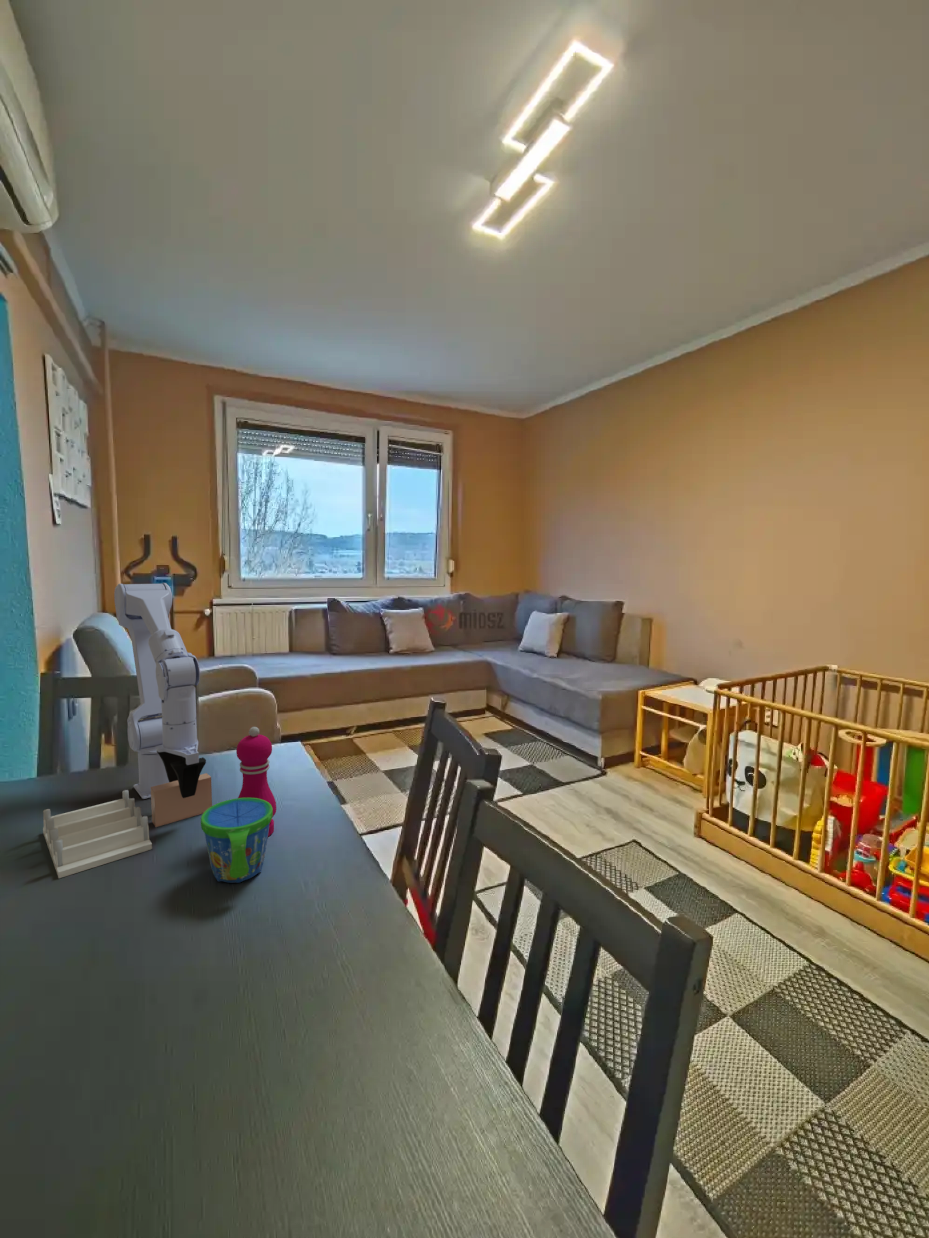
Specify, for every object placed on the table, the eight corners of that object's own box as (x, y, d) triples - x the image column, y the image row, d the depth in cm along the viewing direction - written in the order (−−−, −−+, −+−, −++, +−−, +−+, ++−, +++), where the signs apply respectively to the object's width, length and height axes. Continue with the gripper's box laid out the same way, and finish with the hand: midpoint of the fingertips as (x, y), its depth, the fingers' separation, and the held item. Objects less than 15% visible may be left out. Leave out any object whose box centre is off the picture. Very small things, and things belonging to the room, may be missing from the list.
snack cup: (271, 895, 82) (270, 831, 81) (194, 907, 79) (192, 841, 78) (275, 842, 97) (274, 787, 96) (210, 850, 94) (208, 793, 92)
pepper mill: (283, 824, 103) (282, 722, 101) (265, 844, 96) (264, 735, 93) (246, 821, 104) (244, 719, 101) (226, 841, 97) (223, 732, 94)
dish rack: (126, 810, 106) (125, 786, 106) (152, 848, 94) (151, 821, 93) (43, 833, 98) (41, 806, 97) (58, 878, 85) (56, 848, 84)
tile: (207, 806, 109) (206, 773, 109) (212, 811, 108) (211, 777, 107) (152, 822, 103) (150, 786, 102) (155, 827, 101) (154, 791, 100)
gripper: (145, 715, 105) (148, 782, 107) (167, 734, 95) (170, 808, 96) (184, 709, 110) (187, 773, 112) (209, 726, 100) (212, 797, 101)
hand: (182, 789), depth 104 cm, fingers open, 7 cm apart
